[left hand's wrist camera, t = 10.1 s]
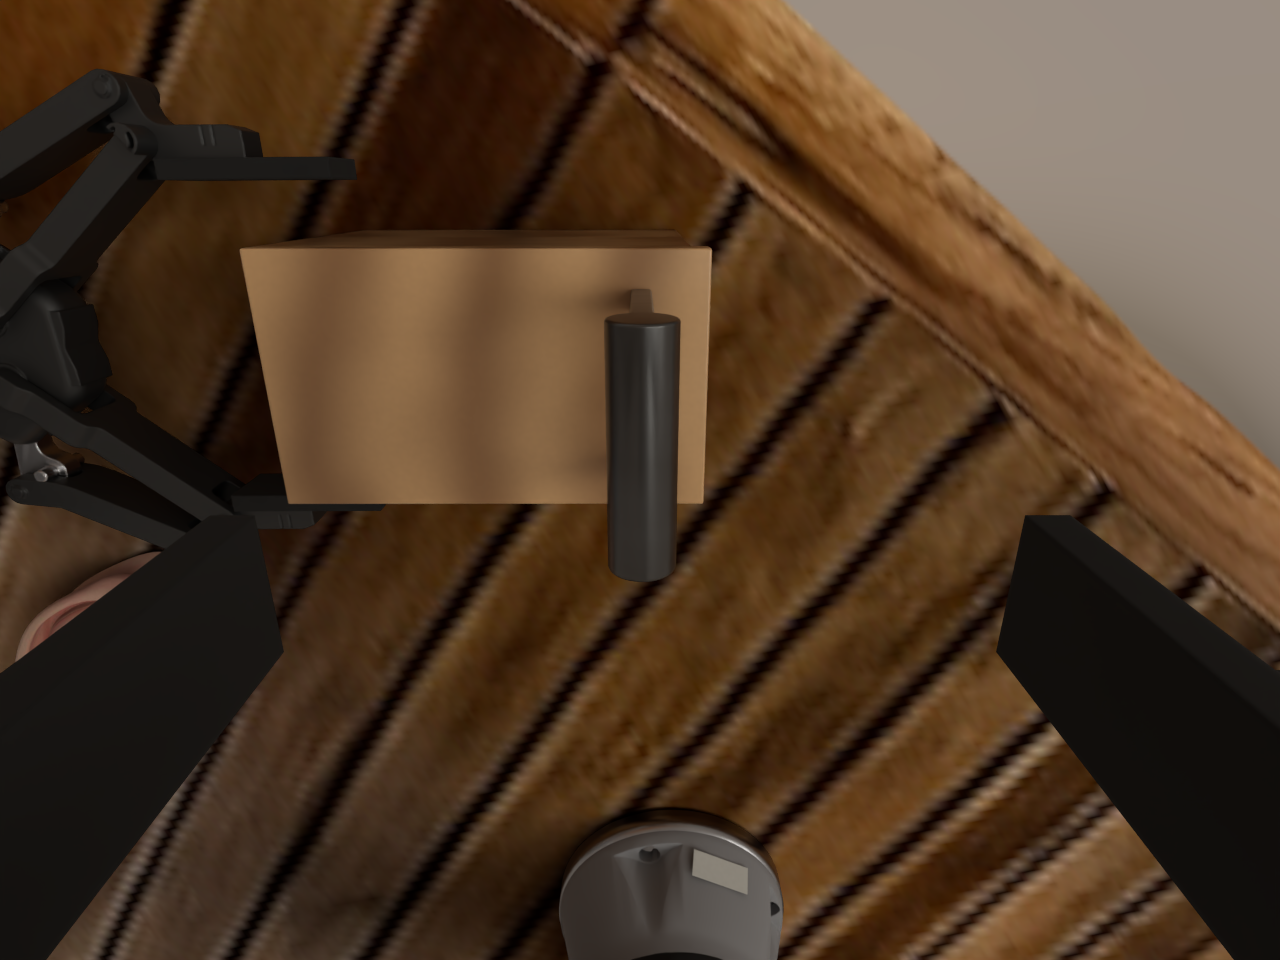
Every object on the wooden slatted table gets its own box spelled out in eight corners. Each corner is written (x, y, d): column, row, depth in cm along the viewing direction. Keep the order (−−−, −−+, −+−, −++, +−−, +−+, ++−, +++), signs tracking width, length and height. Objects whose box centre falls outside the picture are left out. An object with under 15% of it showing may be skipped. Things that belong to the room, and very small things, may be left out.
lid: (710, 246, 25) (744, 273, 17) (701, 494, 28) (727, 620, 20) (252, 246, 25) (60, 274, 17) (298, 495, 28) (158, 620, 20)
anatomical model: (230, 593, 38) (255, 767, 42) (267, 557, 42) (286, 720, 46) (-32, 575, 38) (20, 752, 42) (28, 541, 41) (70, 706, 45)
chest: (676, 229, 35) (691, 245, 25) (673, 413, 39) (685, 494, 28) (365, 230, 35) (252, 246, 25) (389, 413, 39) (298, 494, 28)
